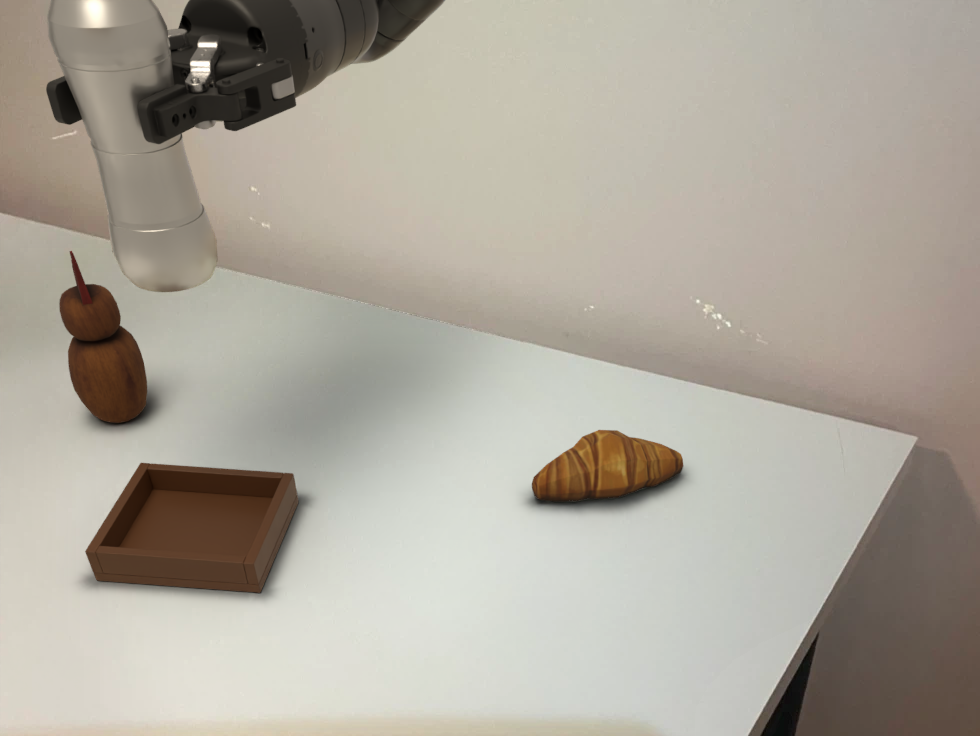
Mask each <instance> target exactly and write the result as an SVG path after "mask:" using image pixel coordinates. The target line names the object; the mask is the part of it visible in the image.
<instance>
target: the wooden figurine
mask: <svg viewBox="0 0 980 736" xmlns="http://www.w3.org/2000/svg"><path fill="white" fill-rule="evenodd" d="M69 256H70V263H71V267H72V273H73V276H74V280H75V285H74V286H72V287H69V288H67V289H66V290H64V291H63V292H62V293H61V295H60V297H59V302H58V303H59V314H60V318H61V320H62V321H61V322H62V323H63V326H64V327H65V330H66V331H67V332H68V333H69V335H70V336H72V338H71V341H70V343H69V346H68V350H67V363H68V372H69V377H70V380H71V383H72V387H73V389H74V392H75V394H76V395H77V396H78V398H79V400H80V402H81V403H82V404H83V405H84V406H85V408H86V409H87V410H88V411H89V413H91V414H92V416H94V417H95V418H97V419H98V420H101V421H103V422H107V423H114V424H120V423H126V422H129V421H131V420H133V419H135V418H137V417H138V416H139V415H140V414H141V413H142V412H143V410H144V409H145V408H146V405H147V397H148V378H147V372H146V367H145V361H144V358H143V355H142V352H141V349H140V346H139V344H138V342H137V340H136V339H135V338H134V337H135V336H133V334H132V333H131V332H129V330H128V329H126V328H125V327H123V326H121V320H122V315H121V311H120V309H119V306H118V303H117V301H116V298H115V297H114V296H113V294H112V293H111V291H110V290H109V289H108V288H106V287H105V286H103V285H101V284H100V285H99V284H94V283H86V282H85V280H84V277H83V275H82V272H81V268H80V267H79V265H78V262H77V259H76V257H75V254H74V252H73V250H69Z"/></svg>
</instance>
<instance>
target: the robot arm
mask: <svg viewBox="0 0 980 736" xmlns="http://www.w3.org/2000/svg"><path fill="white" fill-rule="evenodd" d="M445 2H446V0H188V2H187V3H186V5H185V6H184V9H183V12H182V15H181V18H180V22H179V25H178V28H171V29H167V30H168V36H169V42H170V48H169V49H170V51H171V59H172V69H173V79H174V85H173V86H171V87H169V88H167V89H165V90H162V91H160V92H158V93H156V94H154V95H151V96H149V97H147V98H145V99H143V100H141V101H140V102H139V103H138V107H137V111H138V115H139V119H140V123H141V127H142V131H143V135H144V138H145V140H146V141H147V142H150V143H155V144H161V143H163V142H165V141H167V140H169V139H171V138H173V137H175V136H177V135H179V134H181V133H182V134H183V133H185V132H187V131H189V130H191V129H193V128H196V129H199V130H200V129H201V130H209V129H212V128H214V127H215V125H216V123H223V126H224V127H223V128H224V129H225V130H227V131H231V132H238V131H241V130H244V129H245V128H248V127H250V126H252V125H253V126H254V125H255V124H258V123H260V122H262V121H265V120H267V119H269V118H271V117H274V116H276V115H279V114H281V113H284V112H286V111H288V110H291V109H294V108H295V107H296V106H297V99H296V98H298V97H301V96H302V95H304V94H307V93H308V92H310V91H312V90H313V89H316V88H317V87H318V86H319V85H320V84H322V82H323V81H325V80H326V79H327V78H328V77H329V76H332V75H334V74H336V73H337V72H339V71H341V70H343V69H345V68H347V67H349V66H350V65H357V64H367V63H372V62H377V61H378V60H380V59H382V58H383V57H385V56H387V55H389V54H390V53H391V52H393V51H394V50H396V49H397V48H398V47H399V46H400V45H401V44H402V43H403V42H405V41H406V40H407V38H408V37H410V36H411V34H412V33H414V32H415V31H416V30H417V29H418V28H419V27H420V26H421V25H422V24H423V23H424V22H425V21H427V20H428V19H429V18H430V17H431V16H432V15H433V14H434V13H435V12H436V11H437V10H438V9H439V8H440V7H442V5H443V4H444V3H445ZM45 91H46V95H47V98H48V102H49V105H50V108H51V112H52V115H53V118H54V120H55V121H56V122H57V123H59V124H64V125H68V126H70V125H73V124H75V123H77V122H80V121H83V120H82V117H81V114H80V112H79V109H78V106H77V104H76V102H75V99H74V97H73V95H72V92H71V90H70V88H69V86H68V83H67V81H66V79H65V76H64V75H62V76H60V77H58V78H55V79H53V80H50V81H49V82H47V84H46V90H45Z"/></svg>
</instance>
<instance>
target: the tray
mask: <svg viewBox="0 0 980 736" xmlns="http://www.w3.org/2000/svg"><path fill="white" fill-rule="evenodd" d="M299 501H300V500H299V496H298V491H297V485H296V479H295V473H293V472H281V471H266V470H265V471H264V470H250V469H237V468H224V467H223V468H220V467H208V466H207V467H206V466H194V465H192V466H191V465H180V464H179V465H178V464H165V463H151V462H149V463H148V462H140V463H139V465H138V466H137V468H136V470H135V471H134V473H133V474H132V476H131V477H130V479H129V480H128V482H127V484H126V485H125V487H124V488H123V490H122V491H121V494H120V495H119V496H118V498H117V500H116V501H115V503H114V504H113V506H112V507H111V508H110V510H109V513H108V514H107V515H106V518H104V520H103V522H102V523H101V525H100V527H99V529H98V530H97V532H96V533H95V535H94V536H93V538H92V539H91V541H90V543H89V544H88V546H87V548H86V549H85V551H84V552H85V555H86V557H87V560H88V563H89V565H90V568H91V570H92V571H91V572H93V575H94V578H95V580H96V581H98V582H100V581H101V582H110V583H123V584H124V583H126V584H139V585H150V586H151V585H152V586H165V587H178V588H190V589H204V590H205V589H206V590H218V591H230V592H231V591H232V592H245V593H246V592H247V593H258V594H260V593H261V592H262V590H263V588H264V586H265V583H266V581H267V579H268V575H269V574H270V571H271V569H272V566H273V564H274V561H275V560H276V557H277V554H278V552H279V550H280V548H281V545H282V543H283V540H284V538H285V535H286V533H287V530H288V528H289V526H290V524H291V521H292V519H293V516H294V514H295V511H296V509H297V507H298V504H299Z"/></svg>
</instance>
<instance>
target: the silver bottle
mask: <svg viewBox="0 0 980 736" xmlns="http://www.w3.org/2000/svg"><path fill="white" fill-rule="evenodd" d="M46 17H47V38H48V39H49V43H50V46H51V48H52V51H53V53H54V56H55V57H56V58H57V63H58V64H59V67H60V70H61V72H62V74H63V76H65V79H66V81H67V83H68V86H69V88H70V90H71V92H72V95H73V97H74V99H75V102H76V104H77V106H78V109H79V112H80V114H81V117H82V120H81V121H82V123H83V126H84V128H85V129H84V130H85V132H86V135H87V136H88V138H89V139H90V146H91V149H92V152H93V154H94V157H95V158H94V159H95V160H96V165H97V170H98V174H99V179H100V183H101V184H100V185H101V188H102V193H103V197H104V202H105V206H106V211H107V223H108V224H107V226H108V234H109V240H110V246H111V247H110V248H111V252H112V254H113V256H114V258H115V260H116V262H117V265H118V267H119V268H120V271H121V272H122V274H123V276H124V277H125V278H127V279H128V280H129V281H130V282H131V283H132V284H133V285H135V287H137V288H139V289H141V290H145V291H148V292H152V293H153V292H155V293H175V292H176V293H177V292H181V291H186V290H190V289H194V288H197V287H200V286H201V285H203V284H205V283H206V282H208V281H209V280H210V279H211V278H212V276H213V275H214V272H215V271H216V268H217V265H218V261H219V257H218V240H217V237H216V234H215V230H214V228H213V226H212V223H211V220H210V219H211V218H210V217H209V215H208V212H207V210H206V208H205V206H204V204H203V203H202V201H201V197H200V194H199V191H198V187H197V184H196V180H195V178H194V175H193V171H192V169H191V165H190V162H189V159H188V156H187V155H188V154H187V153H186V149H185V148H186V147H185V142H184V136H183V133H181V134H179V135H177V136H175V137H173V138H171V139H169V140H167V141H165V142H163V143H161V144H155V143H150V142H147V141H146V140H145V138H144V135H143V131H142V127H141V123H140V119H139V115H138V111H137V107H138V103H139V102H140V101H141V100H143V99H145V98H147V97H149V96H151V95H154V94H156V93H158V92H160V91H162V90H165V89H167V88H169V87H171V86H173V85H174V79H173V69H172V59H171V51H170V49H169V48H170V42H169V36H168V30H169V29H168V25H167V23H166V21H165V19H164V17H163V15H162V13H161V11H160V9H159V7H158V6H157V5H156V4H155V2H154V1H153V0H50V3H49V6H48V11H47V16H46Z"/></svg>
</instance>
